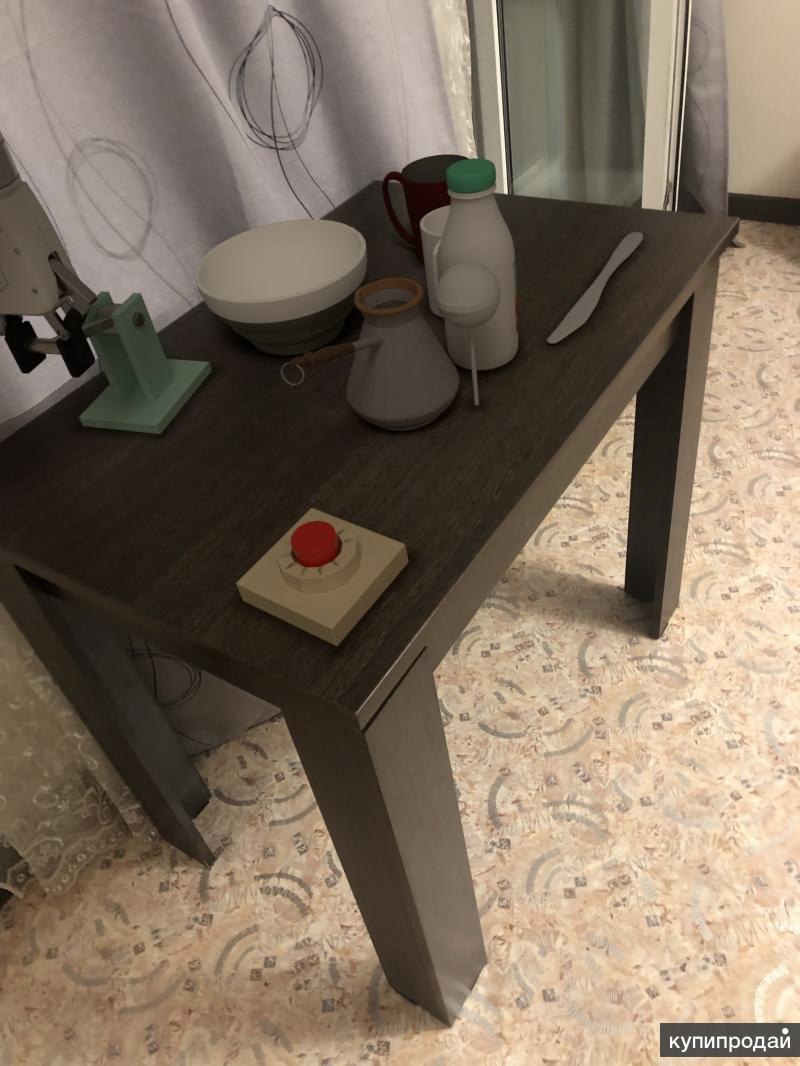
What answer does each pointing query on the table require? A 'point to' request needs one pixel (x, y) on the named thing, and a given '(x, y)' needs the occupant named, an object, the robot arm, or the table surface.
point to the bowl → (285, 283)
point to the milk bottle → (480, 262)
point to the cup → (433, 250)
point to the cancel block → (325, 579)
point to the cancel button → (315, 544)
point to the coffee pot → (393, 359)
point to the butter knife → (595, 289)
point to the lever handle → (89, 329)
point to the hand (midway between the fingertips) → (58, 366)
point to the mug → (420, 193)
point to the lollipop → (468, 302)
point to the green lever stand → (138, 372)
